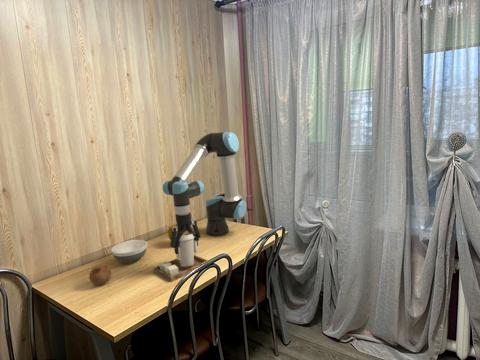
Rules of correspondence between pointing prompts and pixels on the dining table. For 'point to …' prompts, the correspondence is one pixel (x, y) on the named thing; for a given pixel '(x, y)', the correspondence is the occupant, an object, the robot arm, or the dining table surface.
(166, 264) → the sage block
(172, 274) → the cream block
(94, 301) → the dining table surface
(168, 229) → the amber vase
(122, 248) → the bowl
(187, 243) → the coffee cup
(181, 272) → the tray
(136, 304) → the dining table surface
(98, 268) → the onion
